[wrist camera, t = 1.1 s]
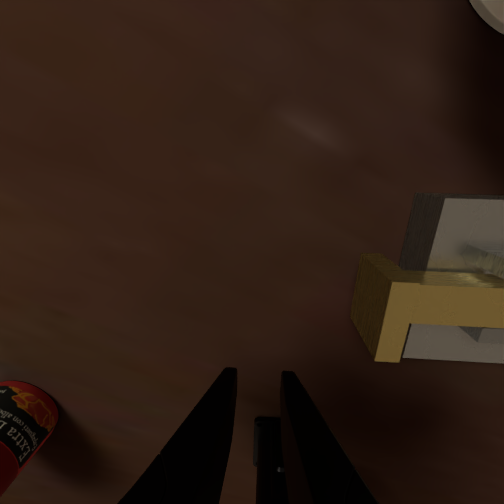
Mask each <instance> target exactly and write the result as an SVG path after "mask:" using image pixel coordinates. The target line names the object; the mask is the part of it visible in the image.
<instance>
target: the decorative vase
mask: <svg viewBox="0 0 504 504" xmlns="http://www.w3.org/2000/svg"><path fill="white" fill-rule="evenodd" d="M469 1H470V3H471V5H472V6H473V8H474V9H475V10H476V12H477V13H478V14H479V15H480V17H481V18H482V19H483V20H484V21H485V22H486V23H487V24H489V25H490V26H491V27H492V28H494V29H495V30H497V31H498V32H500V33H502V34H504V0H469Z"/></svg>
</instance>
